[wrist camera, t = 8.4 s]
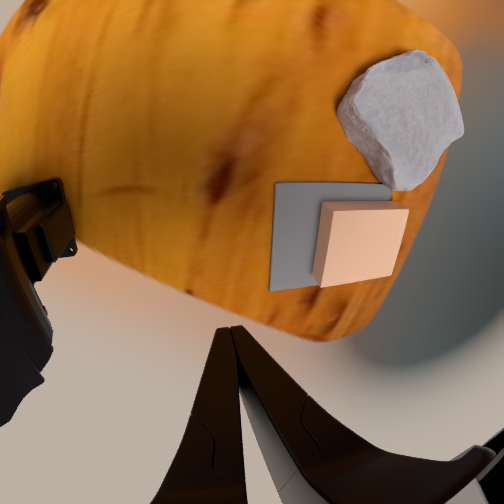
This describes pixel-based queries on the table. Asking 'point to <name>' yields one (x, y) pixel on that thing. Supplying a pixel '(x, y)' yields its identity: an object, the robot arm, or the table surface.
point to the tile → (358, 240)
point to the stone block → (401, 118)
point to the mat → (307, 225)
